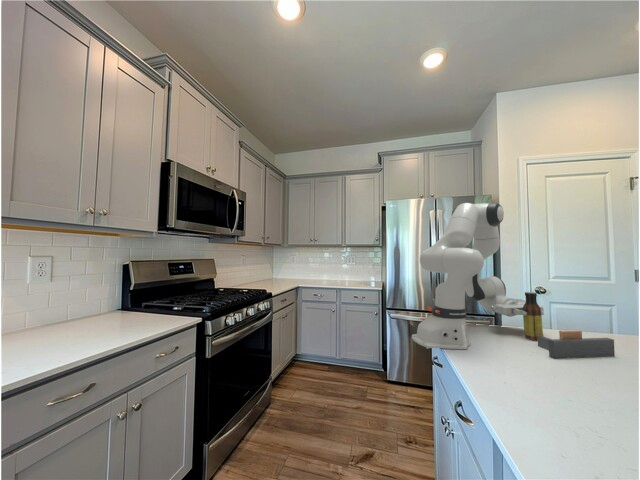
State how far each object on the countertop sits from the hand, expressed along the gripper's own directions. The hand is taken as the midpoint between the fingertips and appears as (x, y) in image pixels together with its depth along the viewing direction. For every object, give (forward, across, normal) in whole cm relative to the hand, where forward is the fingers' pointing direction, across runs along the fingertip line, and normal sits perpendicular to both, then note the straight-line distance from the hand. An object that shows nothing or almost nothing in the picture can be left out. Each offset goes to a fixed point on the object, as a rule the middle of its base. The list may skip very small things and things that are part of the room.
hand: (534, 313), depth 111 cm
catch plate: (+14, 0, +10) cm, 18 cm away
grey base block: (+12, 0, +11) cm, 16 cm away
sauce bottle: (-1, 0, +11) cm, 11 cm away
